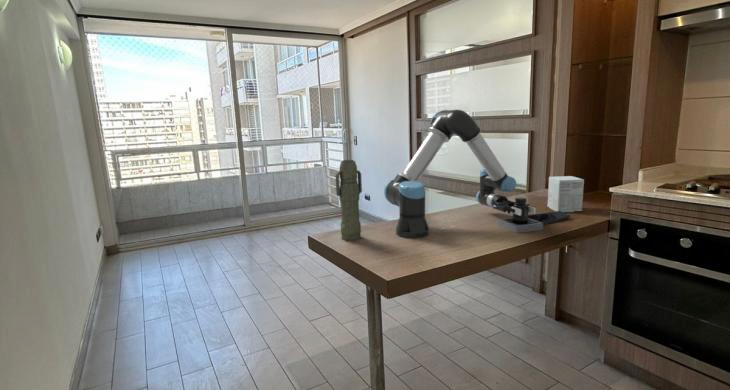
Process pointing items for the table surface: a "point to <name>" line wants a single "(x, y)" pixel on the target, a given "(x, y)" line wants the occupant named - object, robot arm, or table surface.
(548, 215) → the dark slate chunk
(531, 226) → the tray
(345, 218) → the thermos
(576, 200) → the supplement box
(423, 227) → the robot arm
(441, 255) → the table surface
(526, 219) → the supplement bottle
